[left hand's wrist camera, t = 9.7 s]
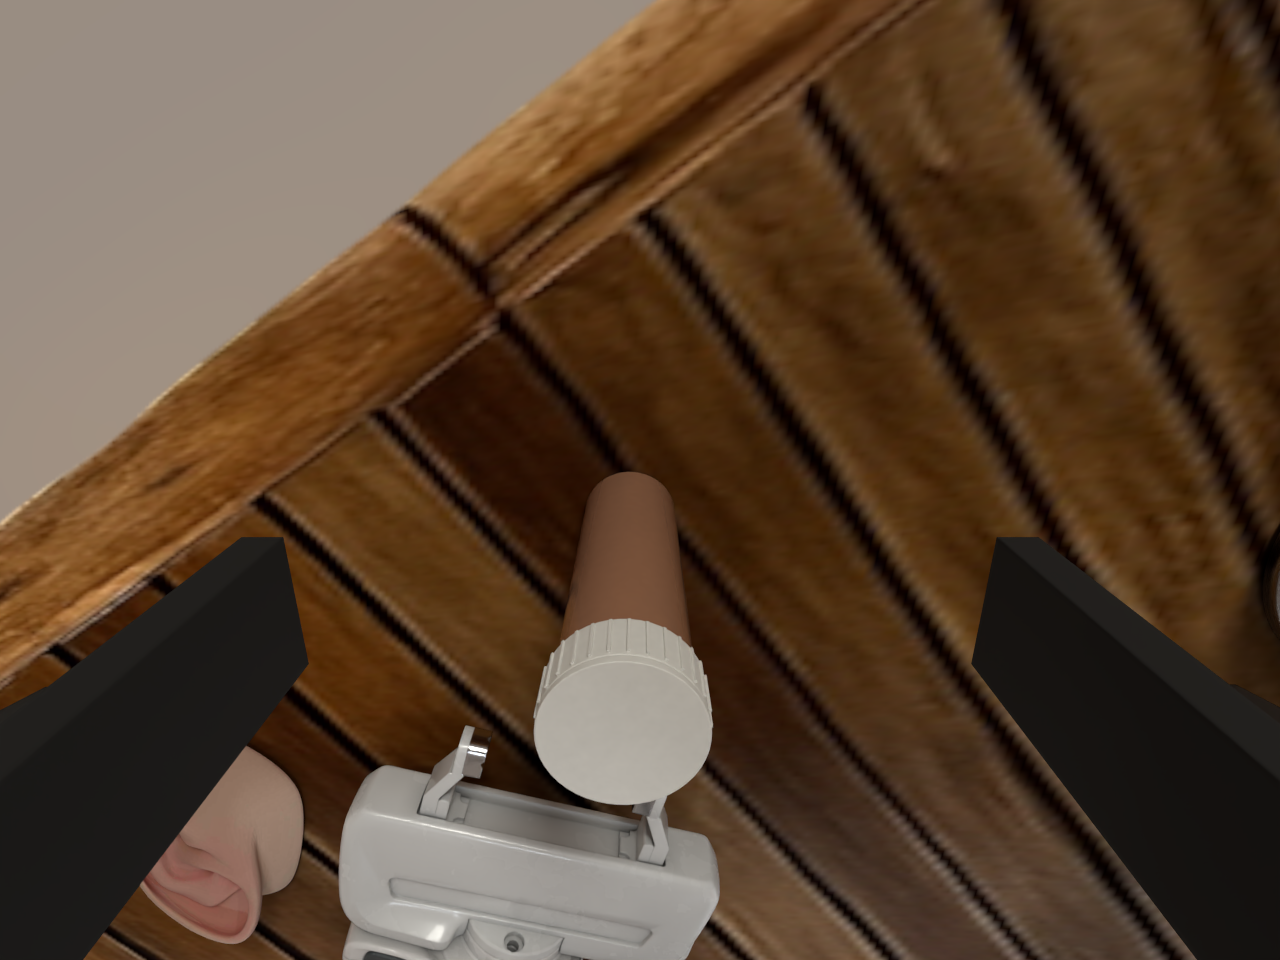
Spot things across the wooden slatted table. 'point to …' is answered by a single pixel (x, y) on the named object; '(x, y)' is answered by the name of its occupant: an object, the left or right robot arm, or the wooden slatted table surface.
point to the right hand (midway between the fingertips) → (566, 756)
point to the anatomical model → (232, 852)
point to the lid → (623, 713)
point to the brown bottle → (628, 558)
